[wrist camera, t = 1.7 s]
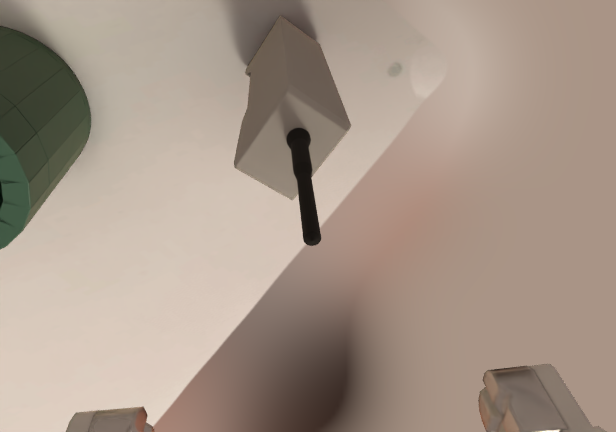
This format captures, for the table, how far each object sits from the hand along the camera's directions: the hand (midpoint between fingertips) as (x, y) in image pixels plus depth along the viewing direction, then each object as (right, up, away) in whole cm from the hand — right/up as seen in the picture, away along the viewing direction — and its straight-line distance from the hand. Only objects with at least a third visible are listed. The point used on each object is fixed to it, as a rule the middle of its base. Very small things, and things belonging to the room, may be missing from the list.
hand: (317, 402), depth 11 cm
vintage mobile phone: (-2, +17, +26) cm, 31 cm away
